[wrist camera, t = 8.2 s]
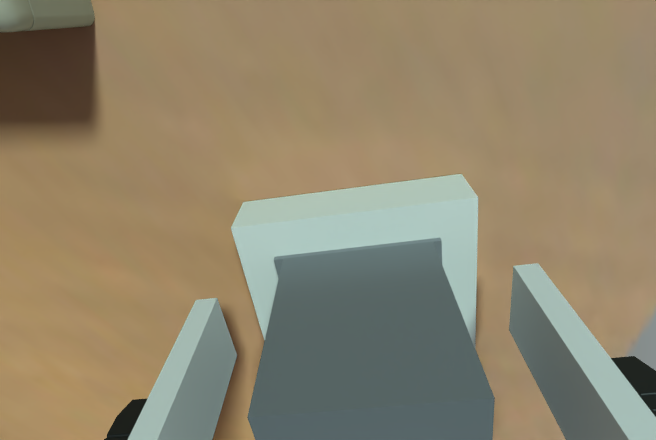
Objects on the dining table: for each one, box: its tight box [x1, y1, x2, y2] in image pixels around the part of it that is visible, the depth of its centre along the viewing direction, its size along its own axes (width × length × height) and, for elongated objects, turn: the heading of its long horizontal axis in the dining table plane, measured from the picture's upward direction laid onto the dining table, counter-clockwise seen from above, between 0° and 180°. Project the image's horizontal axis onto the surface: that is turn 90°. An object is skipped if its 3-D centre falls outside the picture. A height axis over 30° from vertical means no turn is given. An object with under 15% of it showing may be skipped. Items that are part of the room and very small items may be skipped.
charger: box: [247, 242, 495, 440], centre depth 12 cm, size 5×5×6 cm
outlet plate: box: [231, 174, 478, 347], centre depth 17 cm, size 14×8×2 cm, turn 9°
